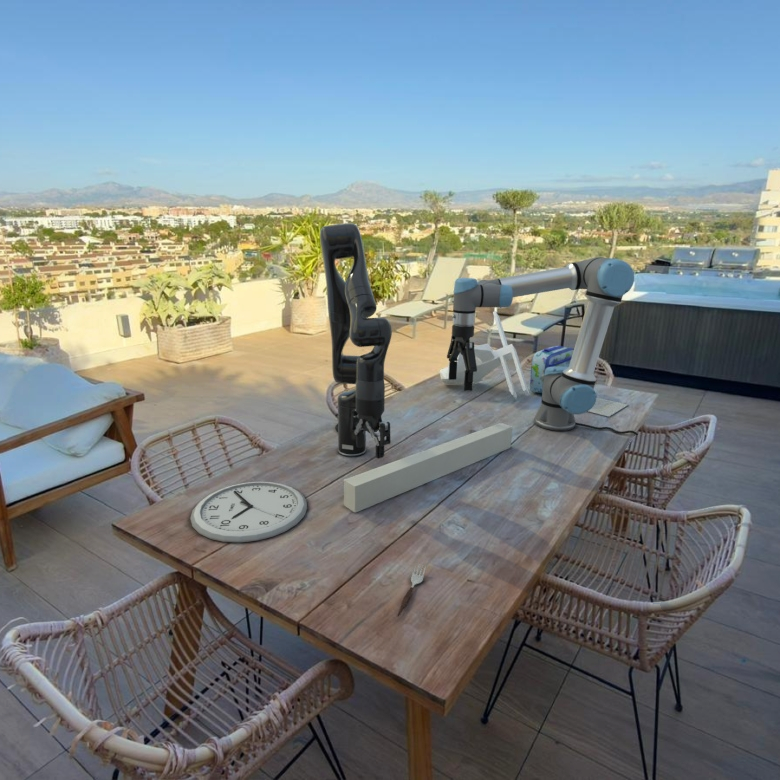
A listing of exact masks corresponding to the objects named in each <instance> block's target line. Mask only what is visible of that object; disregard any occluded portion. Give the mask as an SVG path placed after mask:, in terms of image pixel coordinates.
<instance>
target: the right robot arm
mask: <svg viewBox="0 0 780 780" xmlns="http://www.w3.org/2000/svg"><path fill="white" fill-rule="evenodd" d="M634 283H635V273H634V269H633V268H632V266H631V265H630V264H629V263H628V262H627V261H624V260H622V259H619V258H613V257H612V258H611V257H602V256H595V257H592V258H588V259H584V260H579V261H576V262H569V263H568V264H567V265H566V266H563V267H558V268H552V269H545V270H540V271H534V272H528V273H523V274H517V275H511V276H506V277H500V278H494V279H489V280H488V279H480V280H478V279H477V278H473V277H458V278H456V279H455V281H454V287H453V300H452V301H453V302H452V303H453V304H452V314H451V318H452V326H451V337H450V343H449V346H448V351H447V354H446V358H447V359H448V366H449V380H454V379H456V375H457V362H455V361H458V360H457V358H458V356H459V354H460V353H461V355H463V359H464V363H465V367H466V370H465V381H464V383H463V391H464V392H466V391H473V384H474V382H473V372H477V366H476V359H475V351H474V346H475V342H474V341H470V339H471V338H473V337H474V336H475V326H474V325H475V323H476V309H477V308H499V309H502V308H510V306H511V305H512V304H513V299H514V298H517V297H523V296H530V295H536V294H542V293H547V292H548V293H549V292H553V291H559V290H565V289H569V290H571V291H575V290H586V291H585V298H586V299H587V304H586V308H585V312H584V315H583V317H582V321H581V324H580V327H579V331H578V333H577V338H576V341H575V345H574V348H573V349H574V351H573V355H572V358H571V361H570V365H569V367H548V368H546V369H545V374H544V381H543V391H542V393H541V402H540V405H539V407H538V410H537V411H536V413H535V416H534V424H535V425H536V426H537V427H539V428H542V429H544V430H549V431H556V432H567V431H572V430H574V429H575V428H576V426H581V427H585V428H588V429H593V430H599V431H601V430H609V431H612V432H614V433H616V434H620V435H623V434H624V435H625V434H634V435H635V436H639V433H637V432H636V431H634V430H632V429H631V430H624V431H623V430H622V431H620V430H616V429H614V428H612V427H610V426H600V427H599V426H593V425H589V424H586V423H580V422H576V418H575V417H576V416H575V415H583V414H586V413H588V411H589V410H590V409H591V408H592V407H593V406H594V404H595V402H596V397H597V393H596V391H595V389H594V388H595V385H596V382H597V378H596V376H595V369H596V366H597V364H598V361H599V357H600V354H601V351H602V348H603V344H604V341H605V338H606V335H607V332H608V328H609V325H610V322H611V319H612V316H613V313H614V309H615V307H617V306H618V305H620V304H621V303H622V300H623V297H624V296H625V295H626V294H627V293H628V292H630V290H631V289H632V287H633V286H634ZM449 361H450V362H449Z"/></svg>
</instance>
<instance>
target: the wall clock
mask: <svg viewBox="0 0 780 780" xmlns="http://www.w3.org/2000/svg"><path fill="white" fill-rule="evenodd" d="M307 503H308V502H307V499H306V498H305V496H304V495H303V493H301V492H300V491H298V490H297V489H295V488H294V487H291V486H289V485H286V484H283V483H280V482H279V483H278V482H272V481H249V482H248V481H247V482H242V483H238V484H232V485H229V486H226V487H223V488H220V489H218V490H216V491H213V492H211V493H210V494H208V495H207V496H205V497H204V498H202V499H201V500H200V501H199V502H198V503H197V504H196V505H195V507H194V508H193V509H192V511H191V515H190V523H191V526H192V528H193V529H194V531H196V532H197V533H198V534H199V535H201V536H203V537H205V538H208V539H210V540H214V541H218V542H222V543H239V544H240V543H249V542H256V541H262V540H265V539H269V538H274V537H276V536H278V535H280V534H282V533H286V532H287V531H289V530H290V529H292V528H293V527H295V526H296V525H298V524H299V523H300V522H301V521H302V519H303V518H304V517H305V516H306V513H307V510H308V504H307Z"/></svg>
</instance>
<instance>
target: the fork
mask: <svg viewBox="0 0 780 780" xmlns="http://www.w3.org/2000/svg"><path fill="white" fill-rule="evenodd" d="M415 563H416V564H415V566H414V569H413V572H412V575H411V577H410V581H411V584H412V585H411V587H410V588H409V589H408V590H407V592H406V593H405V595H404V596H403V599H402V602H401V605H400V607H399V611H398V613H397V617H399V616H400V615H401V613H402V612H403V610H404V609H405V607H406V605H407V604H408V603H409V601H410V599H411V596H412V593H413V589H414V587H415V586H416V585H419V584H421V583H422V582H423V581H424V578H425V572H426V568H427V565H425V566H424V564H422V566H421V563H419V564H418V562H415ZM417 564H418V567H417ZM420 566H421V569H420ZM423 567H424V569H423ZM422 572H423V573H422Z"/></svg>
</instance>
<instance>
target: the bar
mask: <svg viewBox="0 0 780 780" xmlns="http://www.w3.org/2000/svg"><path fill="white" fill-rule="evenodd" d="M512 438H513V426H512V425H508V424H506V423H503V422H499V423H496V424H494V425H491V426H488V427H485V428H483V429H479V430H477V431H475V432H472V433H468V434H466V435H464V436H461V437H458V438H455V439H452V440H449V441H447V442H443V443H441V444H439V445H438V444H437V445H436V446H433V447H430V448H427V449H424V450H422V451H419V452H417V453H413V454H411V455H408V456H405V457H403V458H400V459H397V460H395V461H392V462H389V463H387V464H383V465H381V466H378V467H375V468H372V469H369V470H367V471H365V472H362V473H361V472H360V473H359V474H356V475H352V476H350V477H347V478H344V479H343V506H344V507H346V508H347V509H348V510H350V511H351V512H353V513H355V514H356V513H358V512H361V511H363V510H366V509H368V508H370V507H372V506H375V505H377V504H380V503H382V502H384V501H387V500H389V499H392V498H394V497H396V496H399V495H401V494H404V493H406V492H408V491H410V490H413V489H415V488H418V487H420V486H423V485H425V484H427V483H430V482H432V481H434V480H437V479H439V478H441V477H442V478H443V477H444V476H446V475H449V474H452V473H454V472H457V471H458V470H461V469H463V468H465V467H468V466H470V465H473V464H475V463H478V462H480V461H482V460H484V459H487V458H489V457H492V456H494V455H498V454H499V453H501V452H505V451H506V450H509V449H511V448H512V447H511V446H512Z"/></svg>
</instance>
